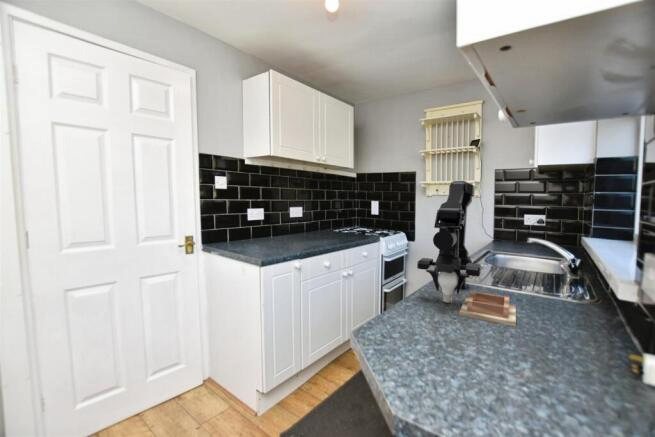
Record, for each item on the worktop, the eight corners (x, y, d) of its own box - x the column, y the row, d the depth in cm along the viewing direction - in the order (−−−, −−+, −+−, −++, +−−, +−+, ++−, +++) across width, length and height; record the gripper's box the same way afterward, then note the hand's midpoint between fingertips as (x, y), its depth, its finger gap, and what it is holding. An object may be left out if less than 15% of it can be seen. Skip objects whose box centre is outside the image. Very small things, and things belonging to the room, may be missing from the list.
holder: (465, 301, 99) (466, 288, 98) (515, 309, 91) (516, 296, 91) (459, 315, 87) (459, 301, 87) (515, 326, 79) (516, 311, 79)
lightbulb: (455, 300, 99) (457, 268, 99) (459, 307, 93) (460, 273, 92) (435, 298, 101) (436, 267, 100) (438, 305, 95) (439, 271, 94)
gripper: (413, 246, 94) (412, 294, 95) (478, 252, 84) (476, 305, 85) (422, 241, 103) (421, 285, 104) (482, 246, 93) (480, 294, 95)
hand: (447, 292), depth 97 cm, fingers closed on lightbulb, 6 cm apart
